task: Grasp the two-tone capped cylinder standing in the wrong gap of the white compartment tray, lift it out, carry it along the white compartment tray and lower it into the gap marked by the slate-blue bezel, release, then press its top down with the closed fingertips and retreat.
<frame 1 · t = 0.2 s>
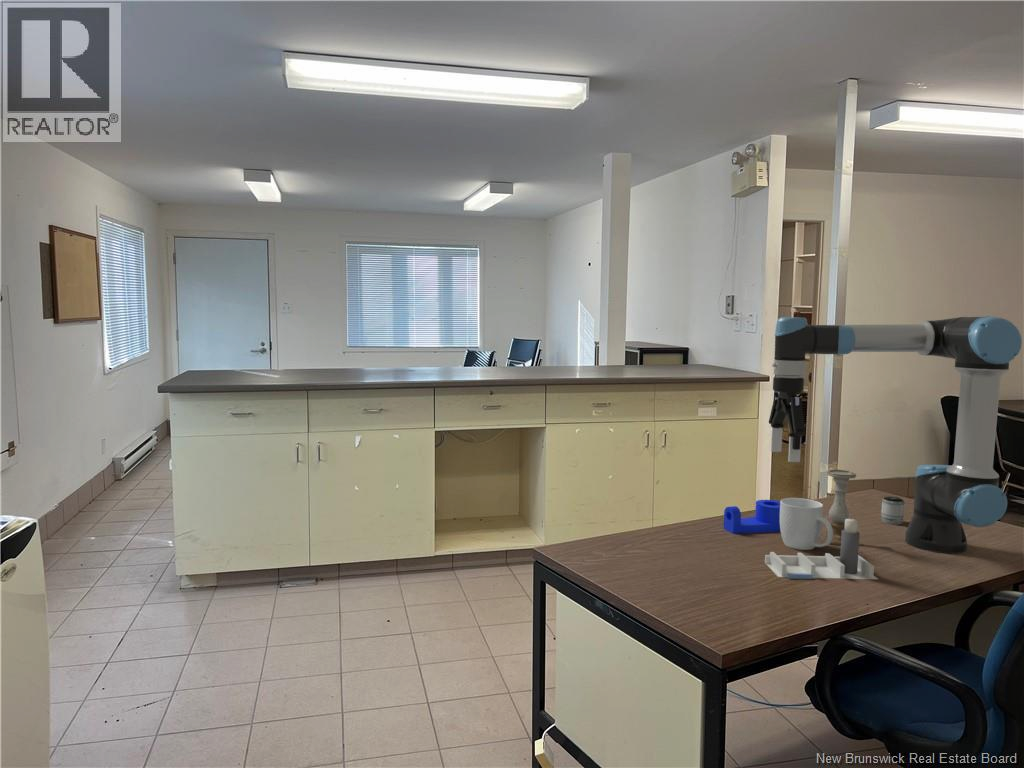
hand: (784, 456, 183), 27 cm above the table, fingers open, 13 cm apart
bracket: (755, 530, 211), on the table
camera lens: (891, 522, 219), on the table
candle holder: (837, 542, 199), on the table
two-tone capped cylinder: (848, 571, 173), point 1 cm above the table, touching white compartment tray
mug: (802, 550, 192), on the table
white compartment tray: (819, 574, 173), on the table
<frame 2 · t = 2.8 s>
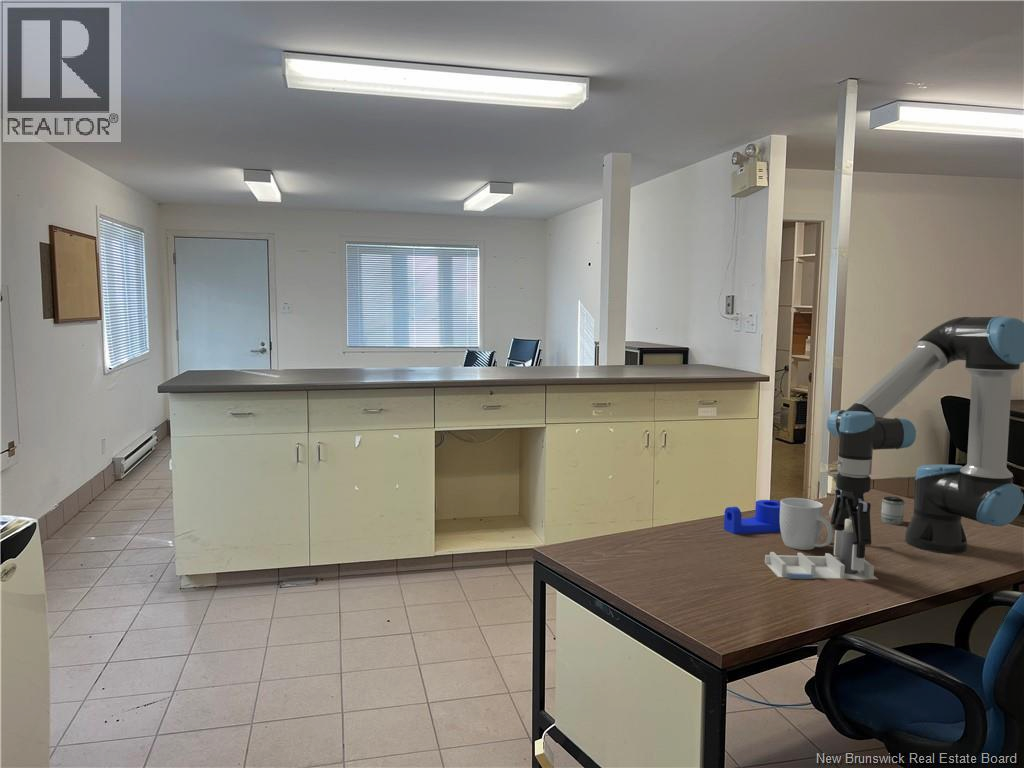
hand: (848, 562, 173), 3 cm above the table, fingers open, 9 cm apart
nothing on the table moved.
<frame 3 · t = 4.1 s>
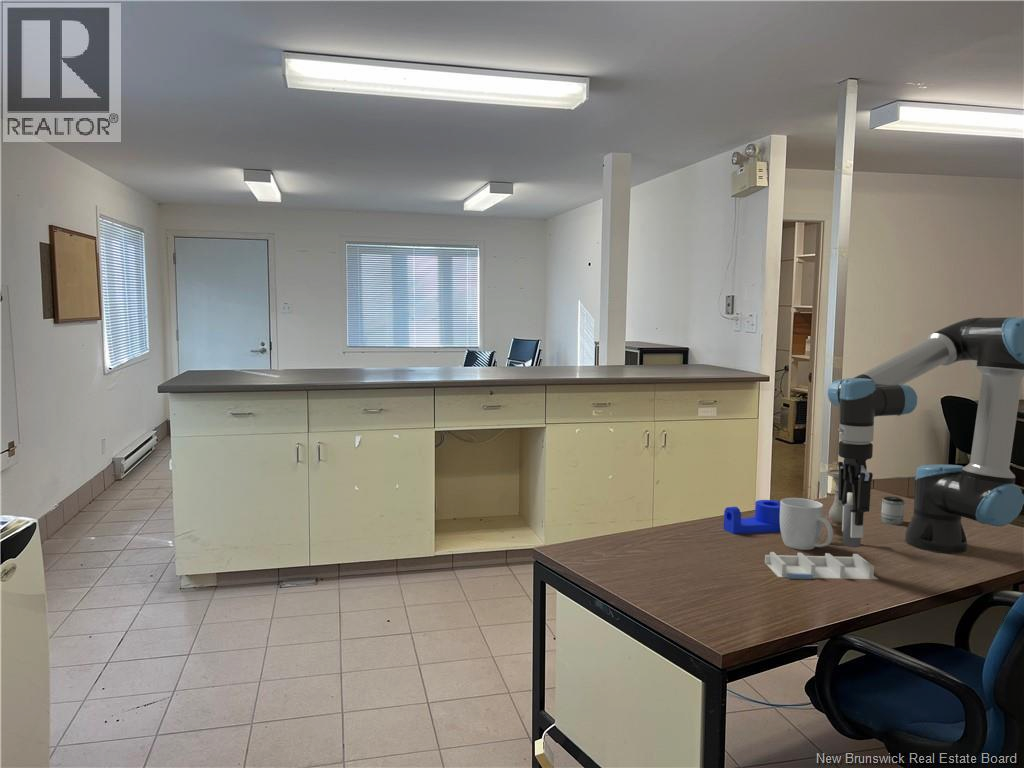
hand: (852, 534, 172), 10 cm above the table, fingers closed on two-tone capped cylinder, 4 cm apart
two-tone capped cylinder: (851, 544, 172), point 8 cm above the table, touching gripper
everything else where it was.
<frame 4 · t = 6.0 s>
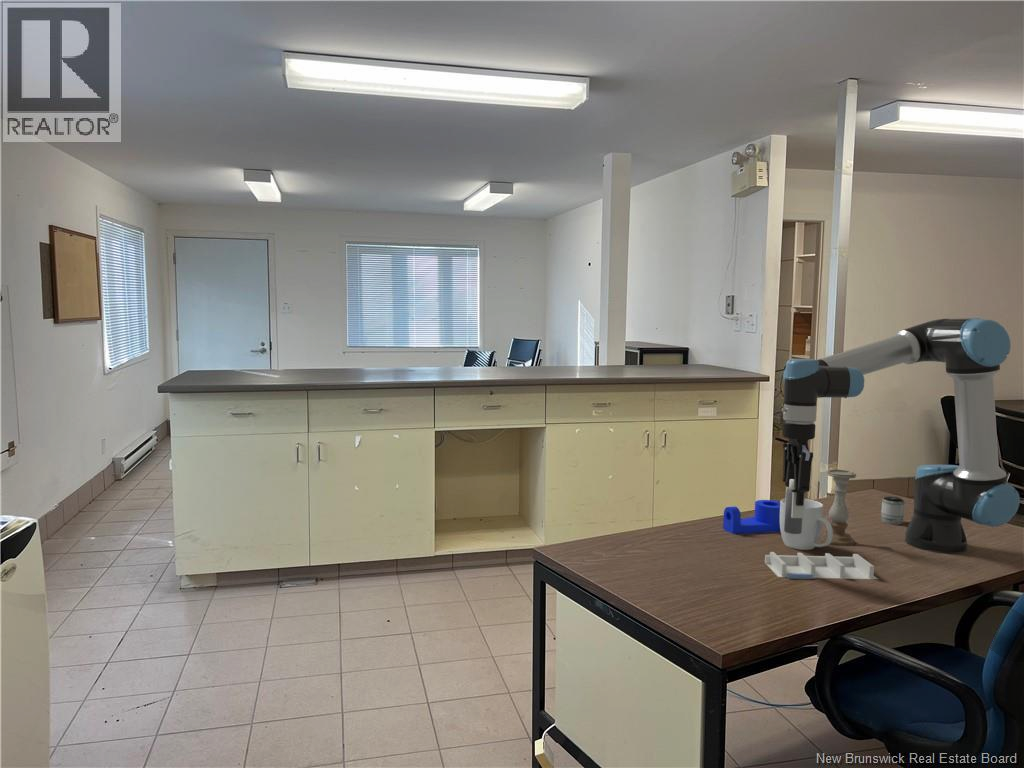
hand: (794, 514, 172), 15 cm above the table, fingers closed on two-tone capped cylinder, 4 cm apart
two-tone capped cylinder: (792, 531, 172), point 11 cm above the table, touching gripper
everything else where it was.
when the fingers open (5 cm above the table, at t = 8.0 s): two-tone capped cylinder stays where it is, resting on white compartment tray.
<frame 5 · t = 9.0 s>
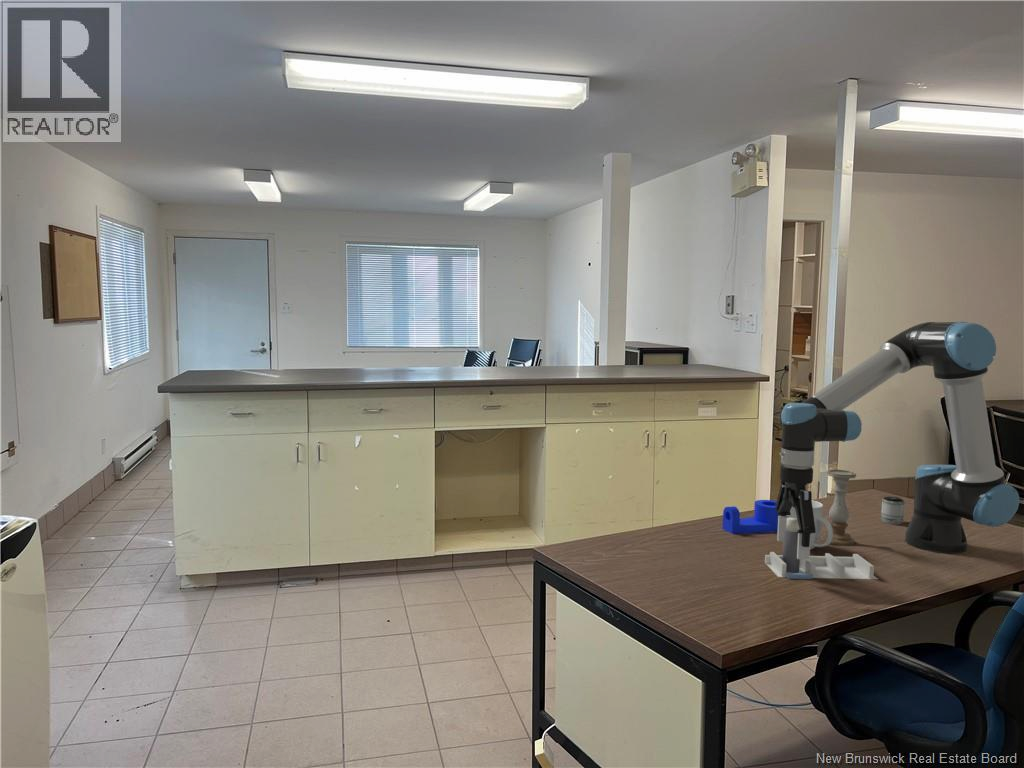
hand: (792, 549, 173), 6 cm above the table, fingers open, 13 cm apart
two-tone capped cylinder: (790, 569, 173), point 1 cm above the table, touching white compartment tray
everything else where it was.
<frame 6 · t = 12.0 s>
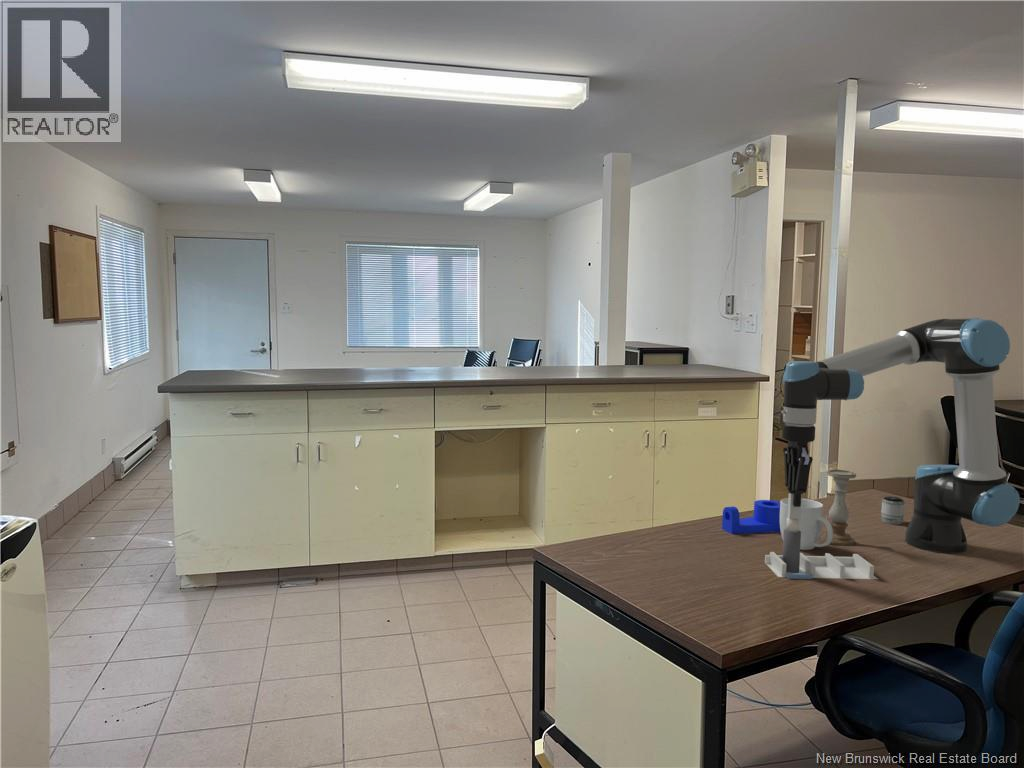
hand: (794, 518, 172), 14 cm above the table, fingers closed
two-tone capped cylinder: (790, 569, 173), point 1 cm above the table, touching white compartment tray, gripper
everything else where it was.
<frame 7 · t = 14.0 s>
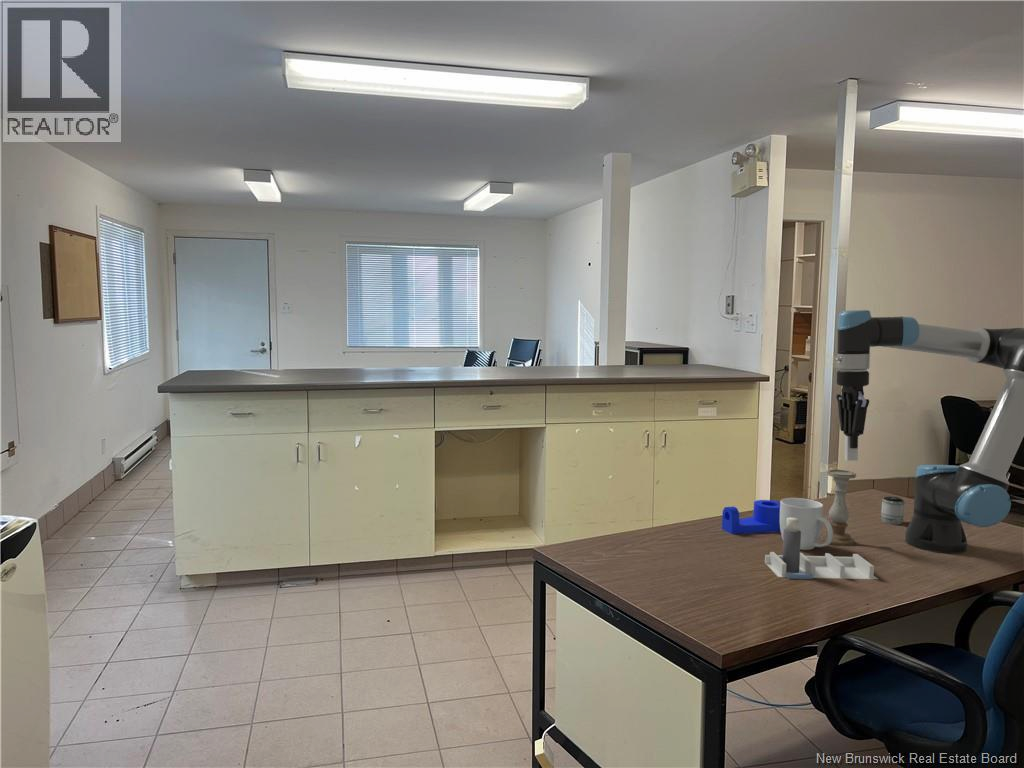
hand: (851, 459, 181), 27 cm above the table, fingers closed
two-tone capped cylinder: (790, 569, 173), point 1 cm above the table, touching white compartment tray
everything else where it was.
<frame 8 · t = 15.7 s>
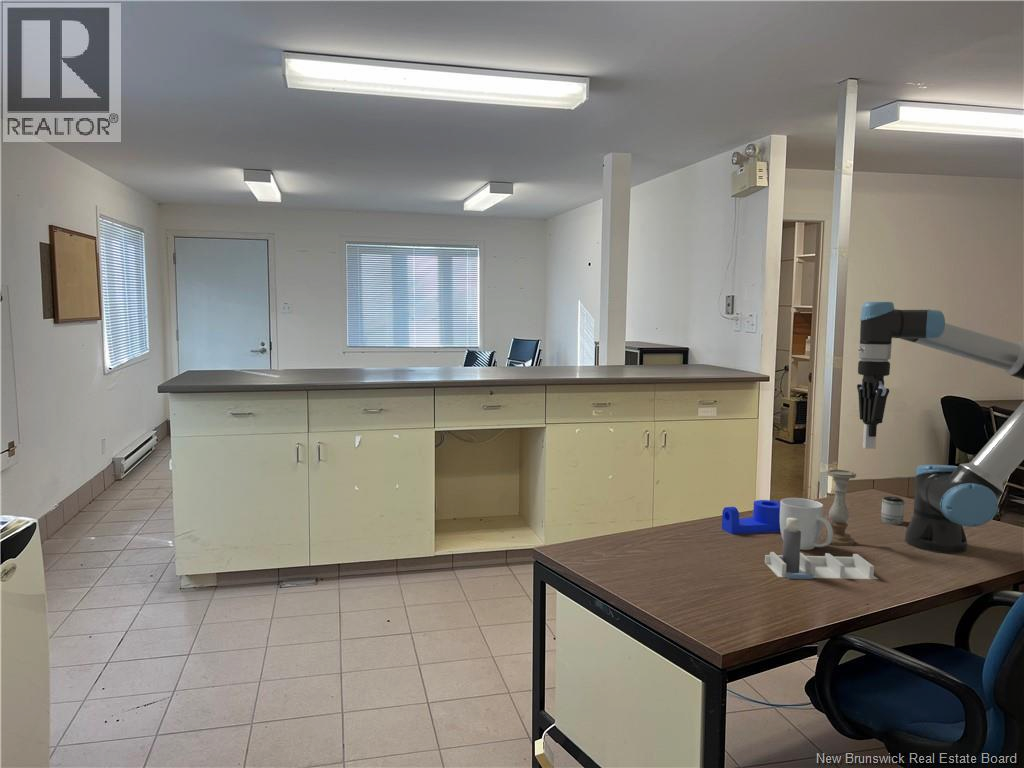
hand: (869, 447, 186), 29 cm above the table, fingers closed
nothing on the table moved.
at the end: two-tone capped cylinder 0.3 cm from the target spot on the white compartment tray, point 1.0 cm above the white compartment tray's base; two-tone capped cylinder tilted 1°; the gripper is holding nothing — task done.
